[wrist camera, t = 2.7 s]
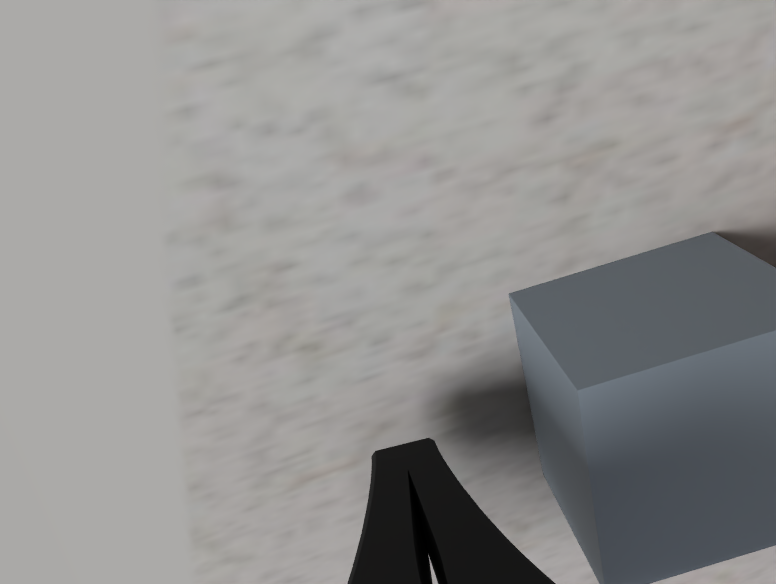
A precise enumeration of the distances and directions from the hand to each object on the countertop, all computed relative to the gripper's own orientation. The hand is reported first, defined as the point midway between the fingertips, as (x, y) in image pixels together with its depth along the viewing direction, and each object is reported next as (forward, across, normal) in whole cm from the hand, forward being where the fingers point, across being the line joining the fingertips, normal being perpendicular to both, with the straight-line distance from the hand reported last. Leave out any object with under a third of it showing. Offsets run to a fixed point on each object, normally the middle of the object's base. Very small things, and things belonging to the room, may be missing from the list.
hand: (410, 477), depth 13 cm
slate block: (+2, -6, 0) cm, 6 cm away
